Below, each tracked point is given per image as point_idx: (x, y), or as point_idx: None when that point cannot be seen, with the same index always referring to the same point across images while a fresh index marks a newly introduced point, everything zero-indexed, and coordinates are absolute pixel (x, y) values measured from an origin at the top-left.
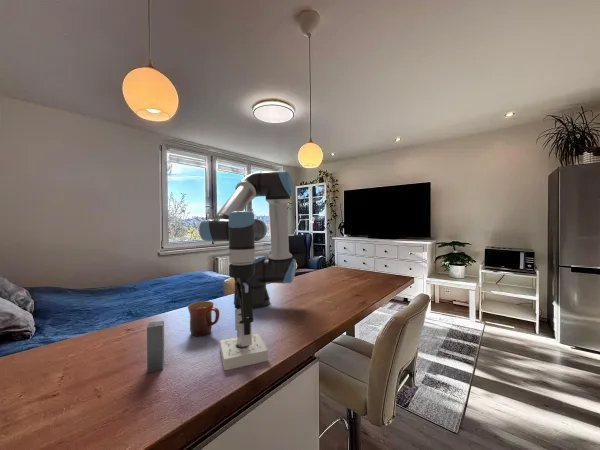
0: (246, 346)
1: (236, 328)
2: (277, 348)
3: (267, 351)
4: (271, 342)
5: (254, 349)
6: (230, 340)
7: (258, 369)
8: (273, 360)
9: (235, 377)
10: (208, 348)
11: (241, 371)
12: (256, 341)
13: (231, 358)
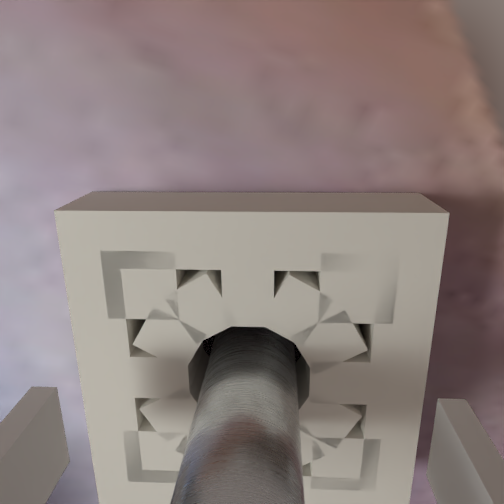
0: (289, 362)
1: (58, 468)
2: (258, 53)
3: (445, 213)
4: (121, 73)
5: (371, 315)
6: (124, 446)
7: (491, 283)
8: (436, 150)
9: (494, 418)
10: (75, 501)
11: (450, 380)
12: (227, 266)
13: (412, 477)
